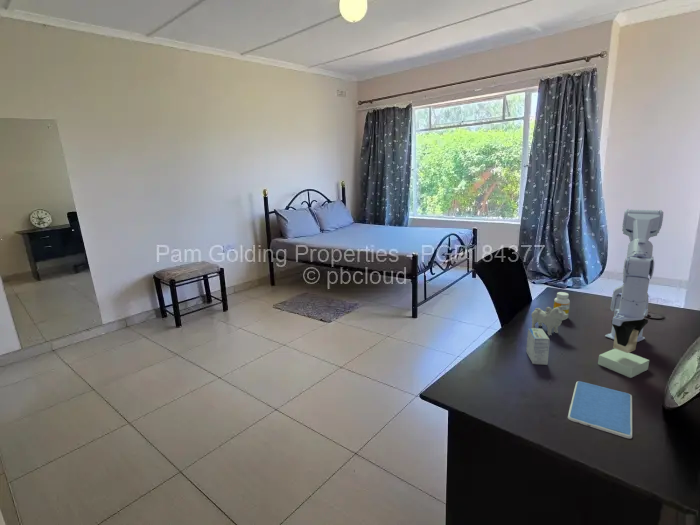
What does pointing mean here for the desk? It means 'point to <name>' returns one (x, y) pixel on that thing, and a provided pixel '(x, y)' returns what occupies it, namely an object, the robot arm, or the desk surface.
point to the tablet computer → (602, 409)
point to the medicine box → (537, 346)
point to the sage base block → (623, 362)
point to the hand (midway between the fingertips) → (626, 342)
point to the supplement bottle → (562, 301)
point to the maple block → (630, 345)
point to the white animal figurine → (549, 318)
